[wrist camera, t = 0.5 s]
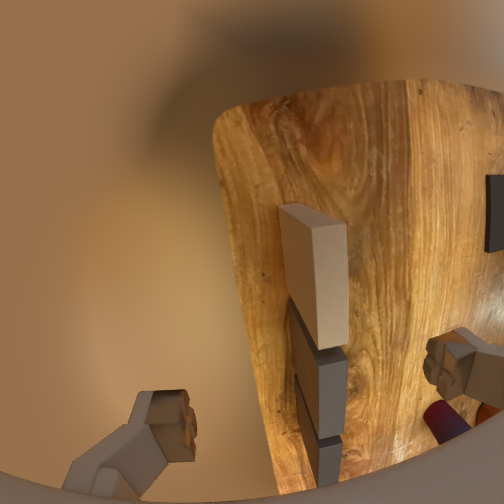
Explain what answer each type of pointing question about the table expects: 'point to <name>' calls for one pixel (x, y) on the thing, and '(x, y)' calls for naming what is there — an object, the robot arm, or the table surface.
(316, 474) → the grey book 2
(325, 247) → the brown flat block
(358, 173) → the table surface
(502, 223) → the book rack
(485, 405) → the bread
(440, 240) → the table surface
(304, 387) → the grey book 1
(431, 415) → the cup
